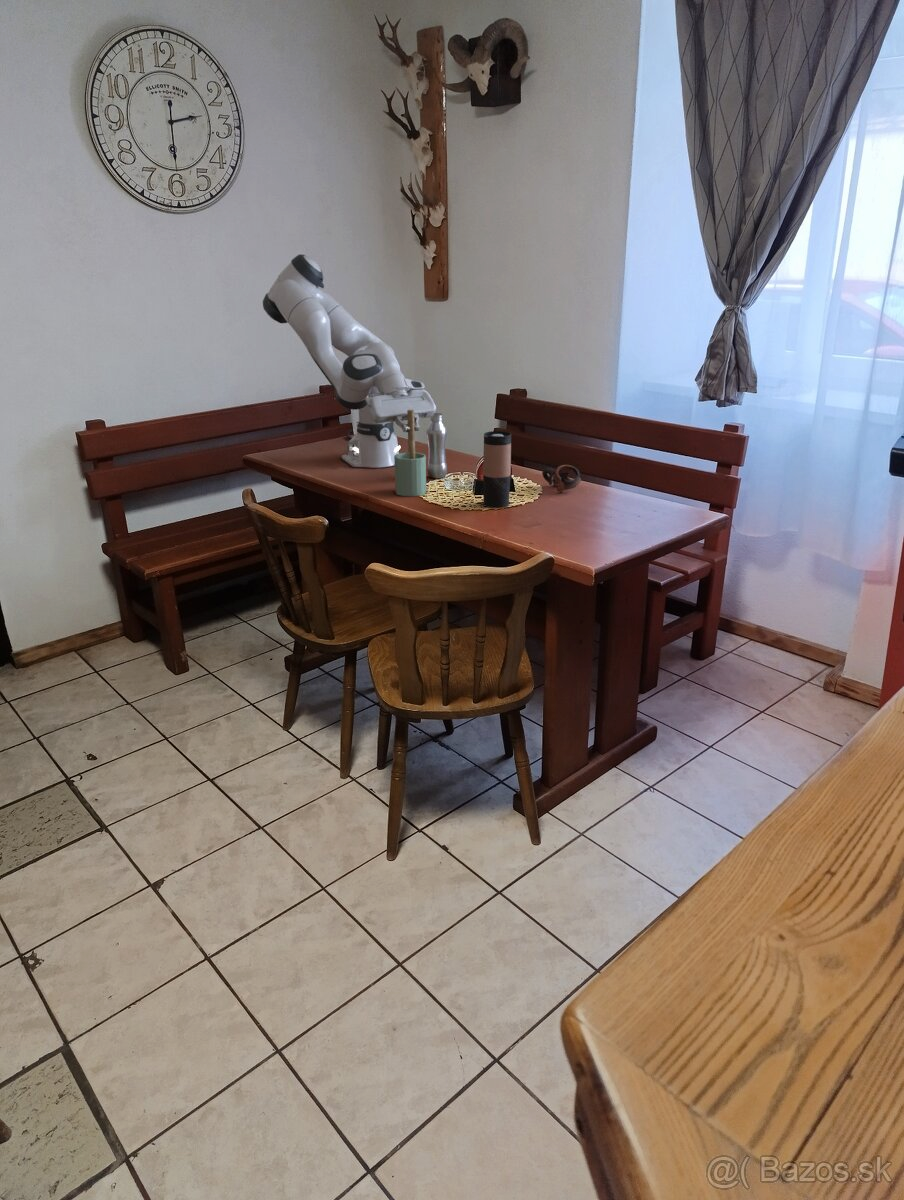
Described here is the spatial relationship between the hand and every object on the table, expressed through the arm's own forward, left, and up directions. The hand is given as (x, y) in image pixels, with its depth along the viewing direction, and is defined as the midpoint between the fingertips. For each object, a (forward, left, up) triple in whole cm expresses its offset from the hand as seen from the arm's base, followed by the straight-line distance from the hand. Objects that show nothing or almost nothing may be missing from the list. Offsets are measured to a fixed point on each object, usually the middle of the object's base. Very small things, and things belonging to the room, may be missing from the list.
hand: (412, 430), depth 236 cm
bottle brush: (-1, 0, -16) cm, 16 cm away
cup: (0, -1, -18) cm, 18 cm away
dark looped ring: (+23, +38, -19) cm, 48 cm away
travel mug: (+25, +12, -19) cm, 33 cm away
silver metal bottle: (-10, +15, -19) cm, 26 cm away
